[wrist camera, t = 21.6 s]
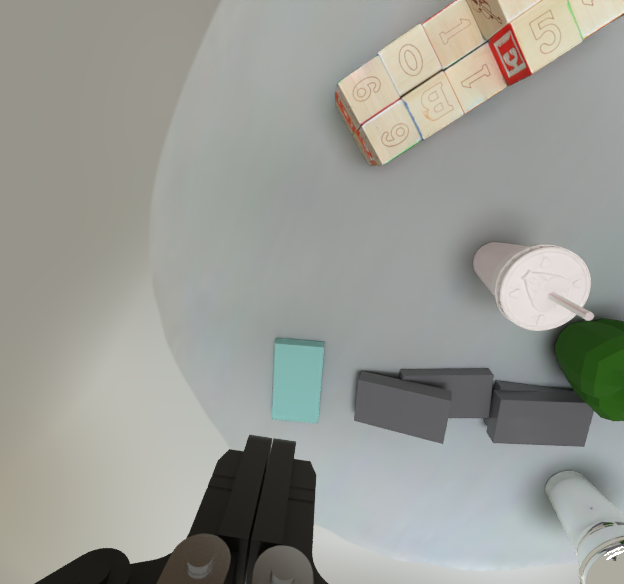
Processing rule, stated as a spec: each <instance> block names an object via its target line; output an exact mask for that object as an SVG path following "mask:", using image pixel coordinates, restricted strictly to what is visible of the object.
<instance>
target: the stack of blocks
mask: <svg viewBox="0 0 624 584" xmlns="http://www.w3.org/2000/svg"><path fill="white" fill-rule="evenodd" d="M623 15H624V0H456V1H454V2H453V3H451V4H450V5H448V6H447V7H445V8H444V9H443V10H441V11H440V12H438V13H437V14H435V15H434V16H432V17H431V18H429V19H428V20H427V21H425V22H424V23H422V24H418V25H416V26H415V27H414V28H412V29H411V30H409V31H408V32H406V33H405V34H403V35H402V36H400V37H399V38H397V39H396V40H394V41H393V42H392V43H390V44H389V45H387V46H386V47H385V48H383V49H382V50H380V51H379V52H378V53H377V55H376V57H374V58H372V59H371V60H369V61H368V62H367V63H365V64H364V65H362V66H361V67H359V68H358V69H356V70H355V71H354V72H352V73H351V74H349V75H348V76H346V77H345V78H343V79H342V80H341V81H339V82H338V84H337V91H336V92H335V105H336V107H337V109H338V110H339V112H340V114H341V116H342V118H343V119H344V121H345V123H346V125H347V127H348V128H349V130H350V132H351V134H352V136H353V138H354V140H355V142H356V144H357V145H358V147H359V149H360V151H361V153H362V154H363V156H364V158H365V159H366V161H367V163H368V164H369V165H378V166H382V165H385V164H386V163H388V162H389V161H391V160H393V159H394V158H396V157H397V156H399V155H400V154H402V153H403V152H405V151H407V150H408V149H410V148H411V147H413V146H414V145H416V144H417V143H419V142H420V141H422V140H425V139H426V138H428V137H430V136H431V135H433V134H434V133H436V132H437V131H439V130H441V129H442V128H444V127H445V126H447V125H448V124H450V123H452V122H453V121H455V120H456V119H458V118H459V117H461V116H462V115H464V114H466V113H467V112H469V111H471V110H472V109H474V108H475V107H477V106H479V105H480V104H482V103H483V102H485V101H486V100H488V99H489V98H491V97H492V96H494V95H495V94H497V93H498V92H500V91H501V90H503V89H504V88H505V87H507V86H510V85H512V84H514V83H516V82H518V81H520V80H522V79H524V78H526V77H528V76H530V75H532V74H533V73H535V72H537V71H538V70H540V69H541V68H543V67H544V66H546V65H547V64H549V63H550V62H552V61H554V60H555V59H557V58H558V57H560V56H561V55H563V54H564V53H566V52H567V51H569V50H570V49H572V48H573V47H575V46H577V45H578V44H580V43H581V42H582V41H583V39H585V38H586V37H588V36H589V35H591V34H593V33H594V32H596V31H597V30H599V29H601V28H602V27H604V26H605V25H607V24H609V23H611V22H612V21H614V20H616V19H618V18H620V17H622V16H623Z"/></svg>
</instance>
